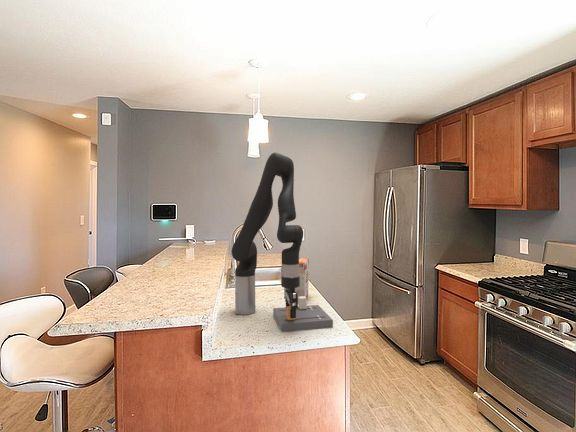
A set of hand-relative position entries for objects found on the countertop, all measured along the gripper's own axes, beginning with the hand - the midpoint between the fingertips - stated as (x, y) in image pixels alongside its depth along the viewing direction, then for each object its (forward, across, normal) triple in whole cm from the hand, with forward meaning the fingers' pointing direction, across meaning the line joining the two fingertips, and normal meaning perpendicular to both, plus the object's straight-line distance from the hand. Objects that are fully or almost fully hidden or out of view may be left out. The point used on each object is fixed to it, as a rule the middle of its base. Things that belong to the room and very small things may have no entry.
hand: (290, 314), depth 130 cm
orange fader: (+2, 0, 0) cm, 2 cm away
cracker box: (+5, -35, +14) cm, 38 cm away
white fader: (+2, -12, +8) cm, 15 cm away
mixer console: (+5, -6, +6) cm, 10 cm away
